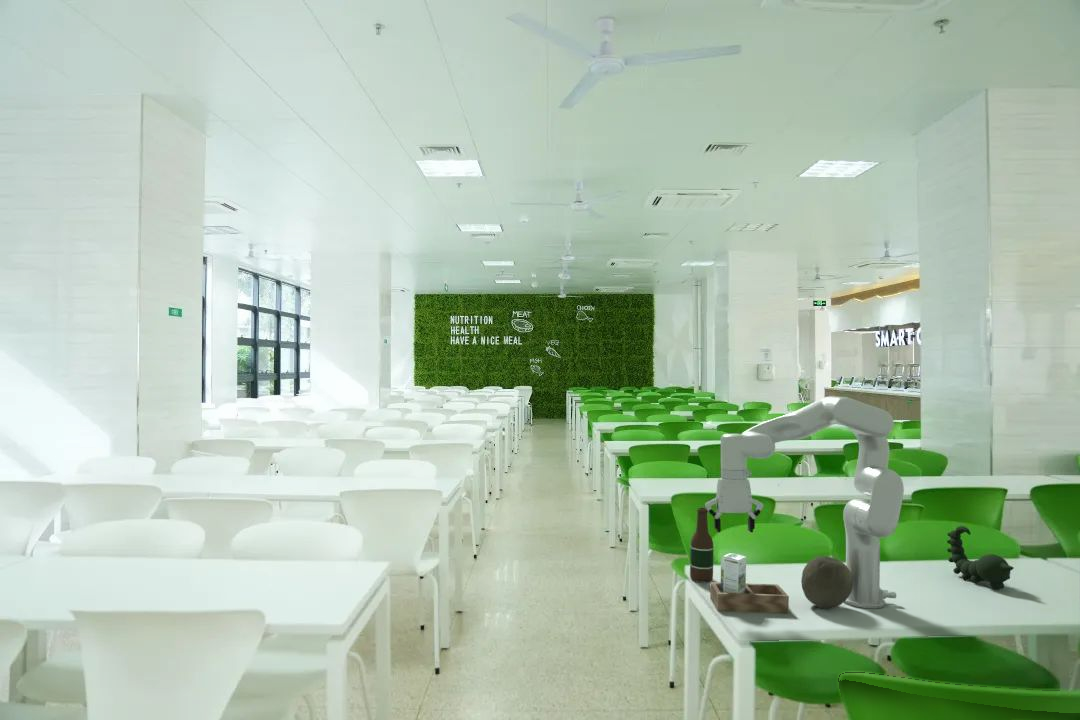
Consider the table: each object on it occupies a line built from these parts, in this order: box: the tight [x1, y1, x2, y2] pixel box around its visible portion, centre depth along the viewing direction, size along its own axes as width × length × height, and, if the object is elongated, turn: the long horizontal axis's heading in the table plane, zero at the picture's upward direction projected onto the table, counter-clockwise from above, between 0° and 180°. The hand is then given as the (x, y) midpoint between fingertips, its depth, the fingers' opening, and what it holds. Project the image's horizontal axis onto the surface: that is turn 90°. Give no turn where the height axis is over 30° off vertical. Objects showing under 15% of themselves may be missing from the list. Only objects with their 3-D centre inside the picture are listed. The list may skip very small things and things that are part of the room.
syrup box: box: [720, 552, 747, 593], centre depth 205 cm, size 6×6×14 cm
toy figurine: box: [946, 525, 1015, 591], centre depth 230 cm, size 9×19×25 cm
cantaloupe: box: [800, 555, 853, 610], centre depth 204 cm, size 14×14×15 cm
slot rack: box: [709, 581, 790, 614], centre depth 205 cm, size 21×11×5 cm, turn 87°
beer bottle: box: [689, 507, 714, 583], centre depth 230 cm, size 8×8×24 cm
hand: (734, 531), depth 205 cm, fingers open, 9 cm apart
